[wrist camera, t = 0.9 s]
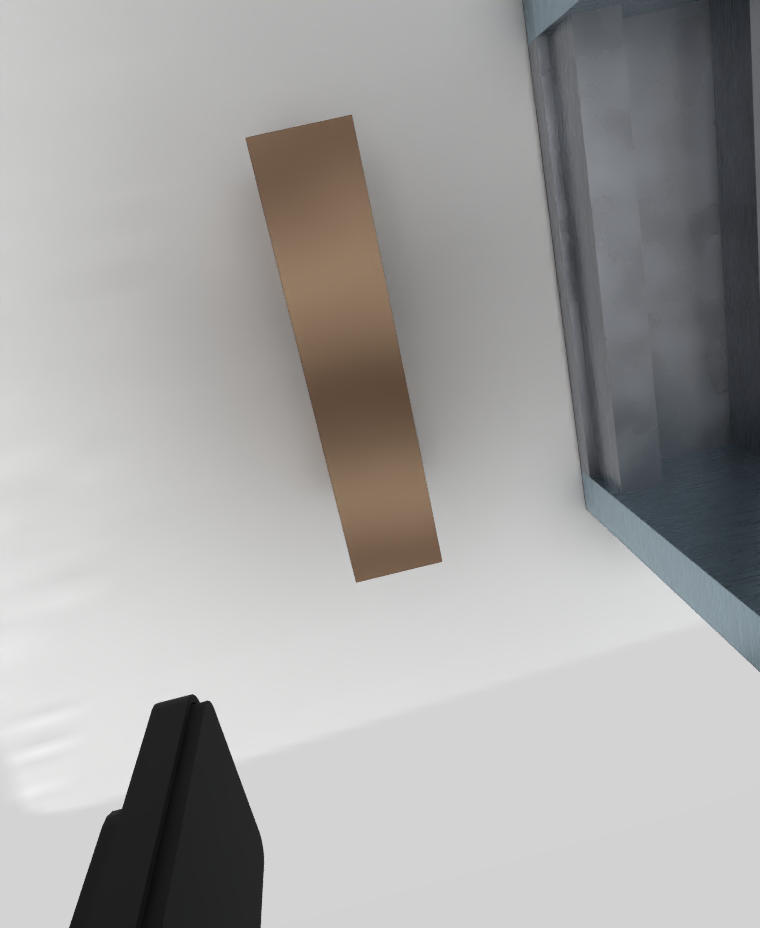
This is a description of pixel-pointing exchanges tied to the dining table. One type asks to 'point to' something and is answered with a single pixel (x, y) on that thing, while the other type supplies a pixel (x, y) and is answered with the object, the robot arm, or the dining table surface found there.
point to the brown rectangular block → (347, 341)
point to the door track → (661, 279)
